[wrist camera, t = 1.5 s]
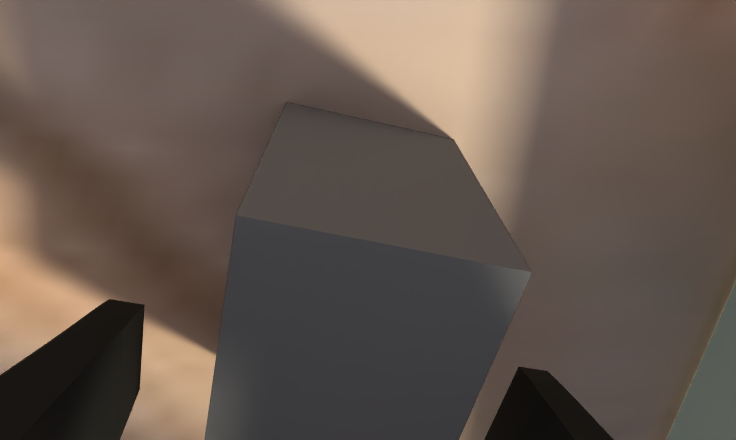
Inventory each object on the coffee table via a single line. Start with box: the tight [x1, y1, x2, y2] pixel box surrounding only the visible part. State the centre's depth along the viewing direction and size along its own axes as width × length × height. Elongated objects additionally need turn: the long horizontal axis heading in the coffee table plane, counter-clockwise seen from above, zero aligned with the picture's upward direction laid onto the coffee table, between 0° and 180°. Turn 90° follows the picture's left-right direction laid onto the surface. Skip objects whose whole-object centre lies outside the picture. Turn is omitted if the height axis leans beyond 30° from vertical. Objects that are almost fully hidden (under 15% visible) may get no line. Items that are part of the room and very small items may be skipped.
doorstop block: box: [205, 102, 532, 440], centre depth 11 cm, size 8×4×6 cm, turn 167°
